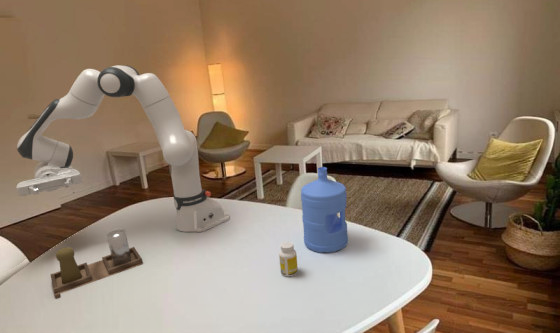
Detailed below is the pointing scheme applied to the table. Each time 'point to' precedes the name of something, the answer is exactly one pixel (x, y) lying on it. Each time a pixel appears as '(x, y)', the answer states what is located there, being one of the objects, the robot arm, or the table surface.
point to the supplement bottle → (288, 259)
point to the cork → (68, 265)
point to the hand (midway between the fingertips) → (51, 188)
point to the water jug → (324, 214)
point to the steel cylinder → (119, 247)
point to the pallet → (94, 272)
